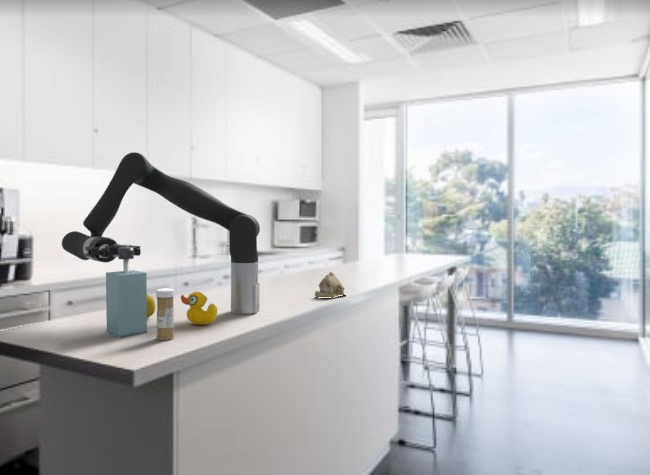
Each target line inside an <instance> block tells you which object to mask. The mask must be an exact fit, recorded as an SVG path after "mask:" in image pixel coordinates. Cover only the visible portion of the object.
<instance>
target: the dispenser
mask: <svg viewBox="0 0 650 475" xmlns="http://www.w3.org/2000/svg"><path fill="white" fill-rule="evenodd" d="M147 286H148V285H147V272H144V271H140V270H135V269H132V270H129V273H124V270H121V271H119V270H118V271H109V272H105V288H106V289H105V296H106V297H105V299H106V301H105V302H106V303H105V304H106V305H105V306H106V307H105V309H106V316H105V318H106V333H108V334H110V335H112V336H115V337H117V338H124V337H130V336H134V335H136V336H137V335H140V334H145V333H146V334H147V333H148V319H147V294H148V293H147V291H148V290H147Z"/></svg>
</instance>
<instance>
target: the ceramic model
mask: <svg viewBox="0 0 650 475" xmlns="http://www.w3.org/2000/svg"><path fill="white" fill-rule="evenodd" d="M318 287H319V290H316V291H315V292H314V297H315V296H316V297H335V296H338V295H344V294H345V293H344V292H345V286H344V285H343V283H342V282H341V280H340V279H339V278H338V277H337V276H336V274H335V273H334V272H332V271H329V273H328V274H327V275H325V277H323V278H322V280H320V282H319V283H318ZM316 297H315V298H316Z"/></svg>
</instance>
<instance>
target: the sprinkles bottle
mask: <svg viewBox="0 0 650 475" xmlns="http://www.w3.org/2000/svg"><path fill="white" fill-rule="evenodd" d="M155 291H156V292H155V296H156V302H157V303H156V306H157V307H156V340H158V341H167V340H173V339H174V338H175V335H174V325H175V323H174V321H175V320H174V319H175V318H174V316H175V314H174V313H175V311H174V310H175V308H174V297H175V289H173V288H165V287H164V288H158V289H156V290H155Z"/></svg>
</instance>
